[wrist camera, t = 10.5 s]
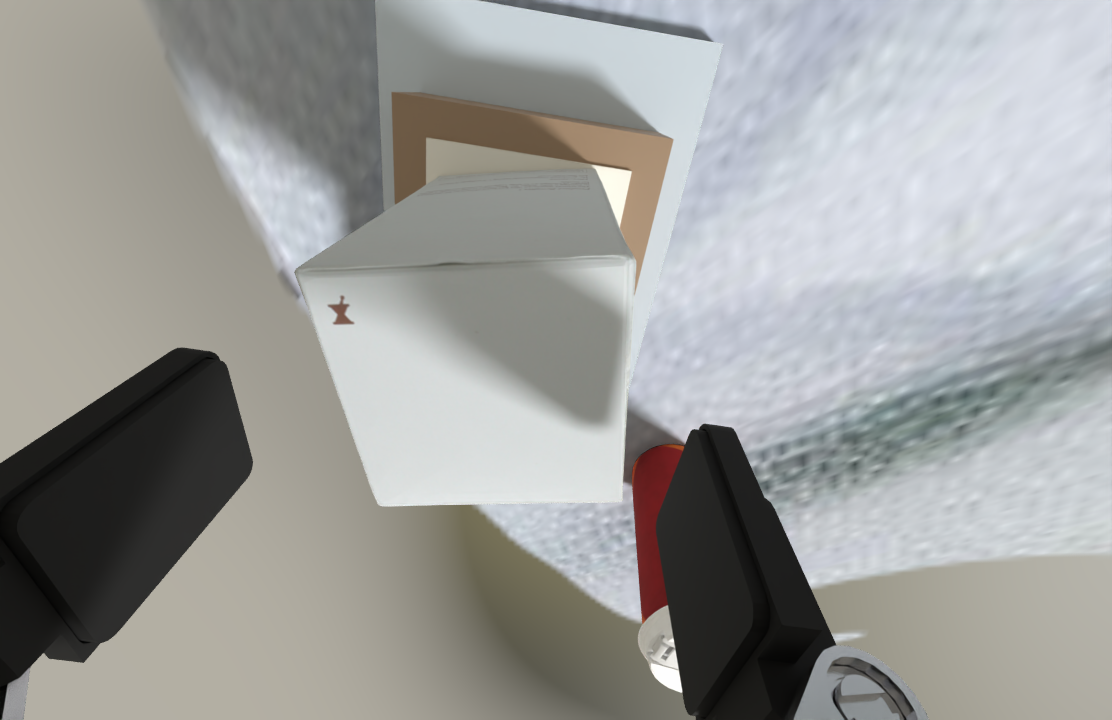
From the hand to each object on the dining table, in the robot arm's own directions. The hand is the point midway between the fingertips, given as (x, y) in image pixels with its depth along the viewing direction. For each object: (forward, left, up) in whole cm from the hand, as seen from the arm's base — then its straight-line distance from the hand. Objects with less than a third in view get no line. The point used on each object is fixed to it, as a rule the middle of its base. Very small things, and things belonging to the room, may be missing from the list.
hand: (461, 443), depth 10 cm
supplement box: (0, 0, -15) cm, 15 cm away
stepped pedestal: (0, 0, -20) cm, 20 cm away
